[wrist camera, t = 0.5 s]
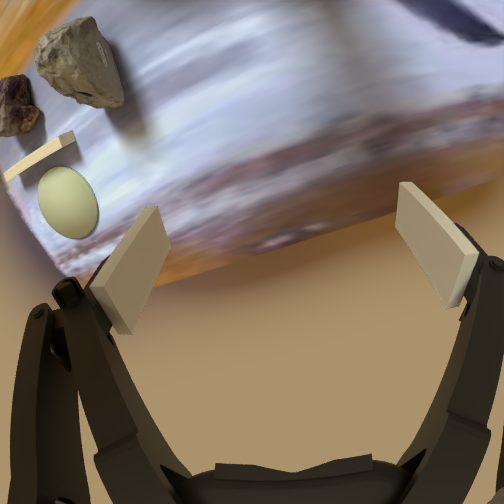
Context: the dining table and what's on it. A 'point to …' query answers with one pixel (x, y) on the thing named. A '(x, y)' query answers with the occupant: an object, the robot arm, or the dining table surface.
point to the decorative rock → (80, 64)
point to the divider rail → (40, 154)
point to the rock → (16, 107)
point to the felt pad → (67, 202)
